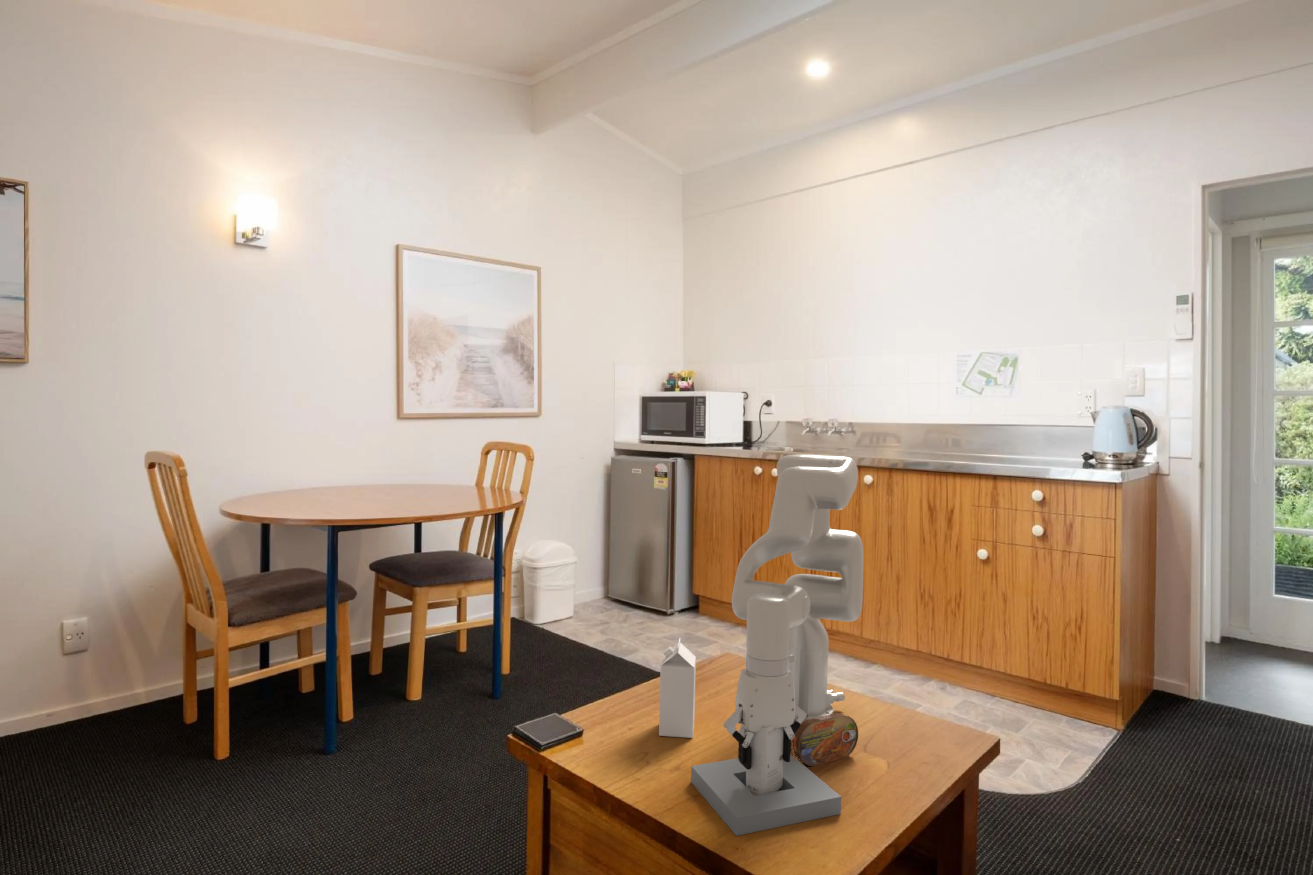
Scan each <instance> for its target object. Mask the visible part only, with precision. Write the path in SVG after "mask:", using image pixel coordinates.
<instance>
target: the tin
mask: <svg viewBox="0 0 1313 875" xmlns="http://www.w3.org/2000/svg"><path fill="white" fill-rule="evenodd" d="M794 735H795V737H794V739H792V750H793V753H794V755H795V756H796V757H795V758H796V759H797V760H800V762H803V763H804V764H806V765H807V766H808V767H809V766H810V767H817V766H820V765H824V764H826V763H831V762H834V761H839V760H842V759H845V758H847V757H849V756H850V755H851V754H852V753H853V752H854V750H855V748H856V746H857V745H858V744H857V743H858V740H859V729H858V725H857V723H856V720H854V719H853V718H852V717H851V716H849V715H845V714H842V713H839V712H833V714H830V715H826V716H821V717H817V718H813V719H809V720H806V721H804V722H802V723H801V724H800V728H799V729H798V730H797V731H796V733H795V734H794Z"/></svg>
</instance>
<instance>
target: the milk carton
mask: <svg viewBox="0 0 1313 875" xmlns="http://www.w3.org/2000/svg"><path fill="white" fill-rule="evenodd" d="M662 653H663V655H662V656H663V657H662V660H661V663H660V672H659V673H660V677H659V678H660V679H659V687H660V688H659V715H658V716H659V718H658V719H659V720H658V721H659V722H658V736H660V737H661V736H662V737H672V738H689V739H693V736H694V731H695V730H694V729H695V708H696V707H695V705H696V704H695V703H696V702H695V701H696V673H697V672H696V670H697V669H696V666H697V664H696V663H697V657H696V655H695V654H694V653H692V652H691V650H689V649H688V648H687V647H686V646H685V645H684V644H683V643H682V642H681V637H679V639H678V642H677V644H676V645H674V646H673V647H672V646H668V647H667V648H665V649H664V651H663V652H662Z"/></svg>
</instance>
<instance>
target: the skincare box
mask: <svg viewBox="0 0 1313 875" xmlns="http://www.w3.org/2000/svg"><path fill="white" fill-rule="evenodd" d="M749 746H751V748H752V763H751V769H749V770H747V769H746V787H747V788H748V790H749V791H750V792H751V793H752V794H753V795H754V796H756V795H761V794H767V793H772V792H777V791H779V790H778V789H780V788H781V787H782V785H783V728H778V729H773V728H772V727H767V728H762V729H761V731H759V732H755V733H754V735H753V737H752V739H751V742H750V744H749Z"/></svg>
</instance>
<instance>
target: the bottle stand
mask: <svg viewBox="0 0 1313 875" xmlns="http://www.w3.org/2000/svg"><path fill="white" fill-rule="evenodd" d="M690 767H691V770H690V776H691V777H690V783H691V784H692V785H693V786H694V787H695V789H697V791H698V792H699V793H700V795H701V796H702V797H703V798H704V800H706V802H707V803H708V804H709V806H710V807H711V808H712V809H713V810H714V812H716V814H717V815H718V816H719V817H720V818H721V820H722V821H723V822H724V823H725V824H726V826H727V827H728V828H729V829H730V830H731V831H732V833H733V834H734V835H735V836H736V837H738V836H743V835H746V834H752V833H757V832H761V831H762V832H763V831H766V830H770V829H775V828H782V827H785V826H789V825H795V824H800V823H804V822H807V821H812V820H813V821H814V820H818V819H823V818H828V817H832V816H838V815H841V814H842V813H841V812H842V796H841V795H840V794H839V793H837V792H836V791H835V790H834V789H833V788H831V787H830V786H829V784H827V783H826V782H824V780H822V779H821V778H820V777H819V776H817V775H816V774H815V773H814V772H813V771H811V770H810V769H809V768H808V767H807V766H805V765H804V764H803V763H802V762H801V761H799V759H798V758H797V757H794V756H793V755H792V753H791V754H790V762H785V761H784V760H783V785H782V787H781V788H780V789H778V790H777V791H776V792H772V793H767V794H761V795H755V794H753V793H751V792H750V791H749V790H748V788H747V787H746V768H745V767H744V766H743V765H742V764H741V763H740V761H739V759H738V757H737V758H732V759H724V760H720V761H712V762H707V763H701V764H695V765H691V766H690Z"/></svg>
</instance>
